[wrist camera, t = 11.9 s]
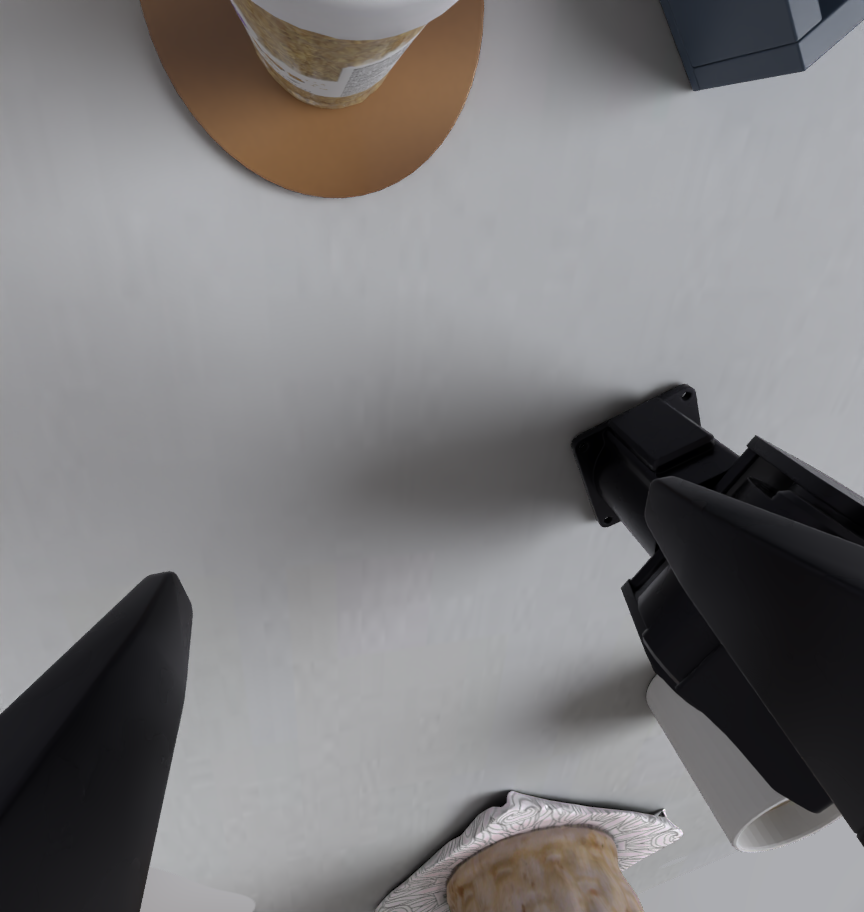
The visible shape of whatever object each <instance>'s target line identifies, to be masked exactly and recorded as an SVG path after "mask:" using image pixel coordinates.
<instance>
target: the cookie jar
mask: <svg viewBox="0 0 864 912" xmlns="http://www.w3.org/2000/svg"><path fill="white" fill-rule="evenodd" d="M682 835H683V832H682V830H681V829H680V828H678V827H677V826H676V825H674V824H673V823H672V822H671V821H670V820H669V819H668V817H667V815H666V813H665V809H663V810H662V812H661V813H660V815H659V816H654V815H649V814H644V813H639V812H634V811H624V810H615V809H605V808H596V807H587V806H582V805H575V804H569V803H563V802H557V801H551V800H546V799H542V798H538V797H534V796H530V795H525V794H521V793H517V792H514V791H511V792H509V793H508V795H507V803H506V804H505V805H504V806H502V807H491V808H489V809H487V810H485V811H484V812H482V813H481V814H479V815H478V816H477V817H476V818H475V819H474V821H473V822H472V823H471V824H470V825H469V827H468V828H467V829H466V830H465V831H464V833H463V834H462V835H461V836H459V837H457V838H455V839H453V840H452V841H450V842H448V843H447V844H446V845H445V846H444V847H442V848H441V849H440V850H439V851H438V852H437V853H436V854H435V855H434V856H432V857H431V858H430V859H429V860H428V861H427V862H426V863H425V864H424V865H423V866H421V867H420V868H419V869H418V870H417V871H416V872H415V873H414V874H413V875H411V876H410V877H409V878H408V879H407V880H406V881H405V882H403V883H402V884H401V885H400V886H398V887H397V888H396V889H395V890H393V891H392V892H391V893H390V894H389V895H388V896H387V897H385V898H384V900H383V901H382V902H381V903H380V904H379V906H378V907H377V908H376V910H375V912H644V910H643V907H642V905H641V903H640V901H639V898H638V896H637V895H636V893H635V892H634V890H633V889H632V887H631V886H630V884H629V883H628V882H627V880H626V879H625V878H624V876H623V875H622V873H621V871H623V870H626V869H627V868H629V867H630V866H632V865H634V864H635V863H636V862H639V861H640V860H642V859H643V858H645V857H647V856H649V855H651V854H654V853H655V852H656V851H658V850H659V849H662V848H664V847H665V846H667V845H668V844H671V843H674V842H675V841H677V840H678V839H679V838H680V837H682Z"/></svg>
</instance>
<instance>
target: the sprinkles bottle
mask: <svg viewBox="0 0 864 912" xmlns="http://www.w3.org/2000/svg"><path fill="white" fill-rule="evenodd" d="M230 1H231V3H232V5H233V7H234V8H235V11H236V13H237V14H238V16H239V18H240V19H241V21H242V23H243V25H244V27H245V29H246V31H247V32H248V34H249V36H250V38H251V40H252V42H253V46H254V48H255V50H256V53H257V55H258V56H259V58H260V60H261V61H262V63H263V65H264V66H265V68H266V69H267V71H268V72H269V73H270V74H271V75H272V77H273V78H274V79H275V80H276V81H277V82H278V83H279V84H280V85H281V86H282V87H283V88H284V89H285V90H286V91H288V92H289V93H290V94H291V95H293V96H294V97H295V98H297V99H298V100H300V101H302V102H304V103H307V104H310V105H313V106H316V107H319V108H329V109H340V108H344V107H348V106H351V105H356V104H359V103H361V102H363V101H364V100H365V99H366V98H367V97H368V96H369V95H370V94H372V93H373V92H375V91H376V90H377V89H378V88H379V86H380V85H381V84H382V83H383V81H384V80H385V78H386V77H387V75H388V73H389V71H390V70H391V69H392V67H393V66H394V65H395V63H396V62H397V61H398V59H399V58H400V57H401V56H402V54H403V53H404V52H405V50H406V49H407V48H408V47H409V45H410V44H411V43H412V41H413V40H414V39H415V38H416V37H417V35H418V34H419V33H420V32H421V31H422V29H423V28H424V27H425V26H426V25H427V23H428V22H430V21H432V20H433V19H435V18H437V17H438V16H440V15H442V14H443V13H444V12H445V11H447V10H448V9H449V8H450V7H451V6H453V5H454V4H455V3H456V2H457V1H459V0H230Z"/></svg>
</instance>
